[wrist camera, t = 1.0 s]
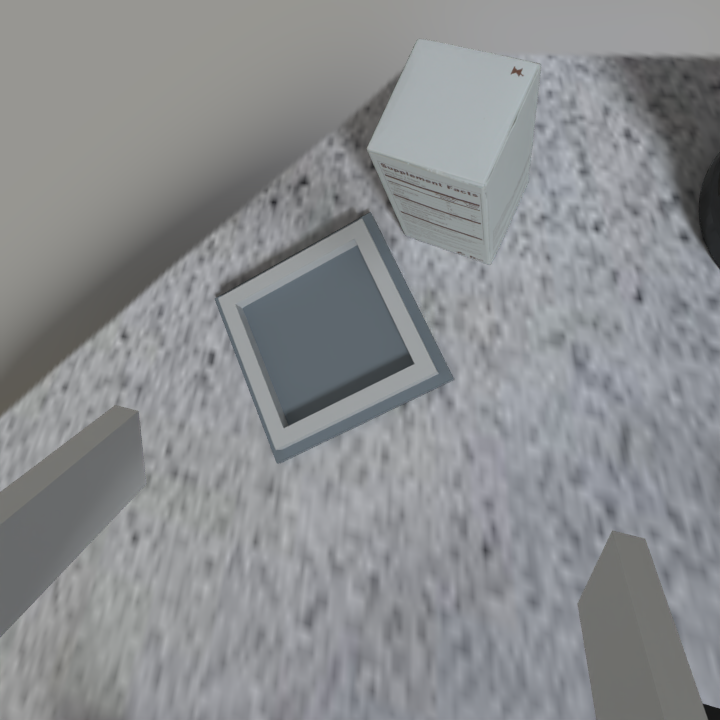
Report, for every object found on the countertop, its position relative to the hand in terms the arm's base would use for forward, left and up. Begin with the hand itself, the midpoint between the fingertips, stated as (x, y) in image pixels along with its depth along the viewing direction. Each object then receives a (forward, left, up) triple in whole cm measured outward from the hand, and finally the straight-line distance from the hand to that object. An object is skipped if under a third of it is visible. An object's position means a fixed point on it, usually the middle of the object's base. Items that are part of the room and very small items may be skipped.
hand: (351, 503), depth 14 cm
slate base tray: (+4, -13, -23) cm, 27 cm away
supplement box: (-10, -17, -24) cm, 31 cm away
